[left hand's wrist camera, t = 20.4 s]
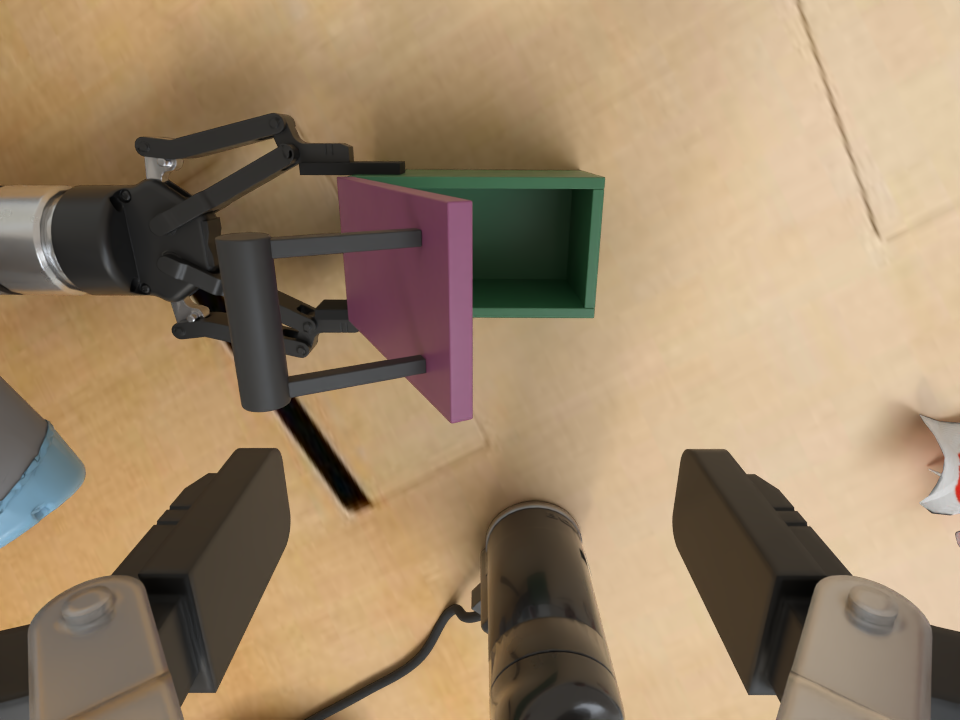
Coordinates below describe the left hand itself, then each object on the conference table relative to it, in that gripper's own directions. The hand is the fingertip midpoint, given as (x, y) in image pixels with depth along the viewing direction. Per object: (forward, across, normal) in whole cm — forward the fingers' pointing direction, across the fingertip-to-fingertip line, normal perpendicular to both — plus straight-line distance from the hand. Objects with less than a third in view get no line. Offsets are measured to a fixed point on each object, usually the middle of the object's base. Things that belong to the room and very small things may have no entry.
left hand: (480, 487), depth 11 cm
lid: (+20, +4, 0) cm, 20 cm away
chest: (+37, 0, 0) cm, 37 cm away
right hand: (+30, +5, 0) cm, 31 cm away
